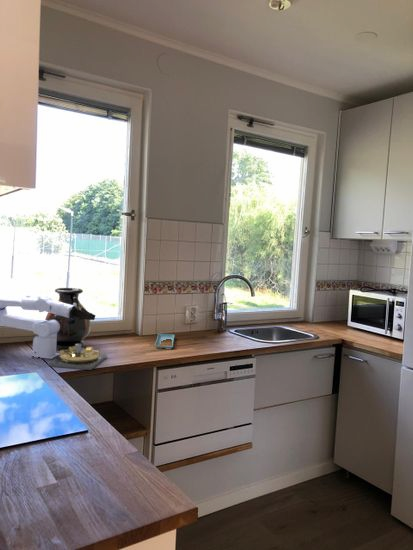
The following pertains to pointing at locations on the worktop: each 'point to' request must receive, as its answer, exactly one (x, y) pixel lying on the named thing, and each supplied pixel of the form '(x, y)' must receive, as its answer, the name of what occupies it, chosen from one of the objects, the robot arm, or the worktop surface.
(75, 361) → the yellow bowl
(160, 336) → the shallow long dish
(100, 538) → the worktop surface
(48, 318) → the amphora vase
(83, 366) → the base plate
